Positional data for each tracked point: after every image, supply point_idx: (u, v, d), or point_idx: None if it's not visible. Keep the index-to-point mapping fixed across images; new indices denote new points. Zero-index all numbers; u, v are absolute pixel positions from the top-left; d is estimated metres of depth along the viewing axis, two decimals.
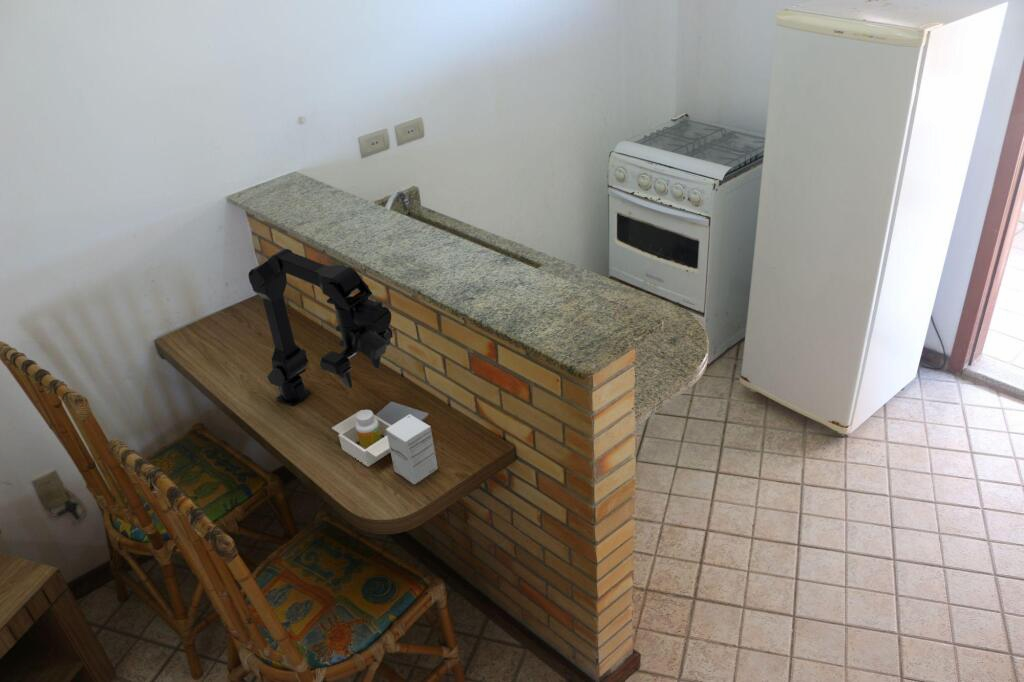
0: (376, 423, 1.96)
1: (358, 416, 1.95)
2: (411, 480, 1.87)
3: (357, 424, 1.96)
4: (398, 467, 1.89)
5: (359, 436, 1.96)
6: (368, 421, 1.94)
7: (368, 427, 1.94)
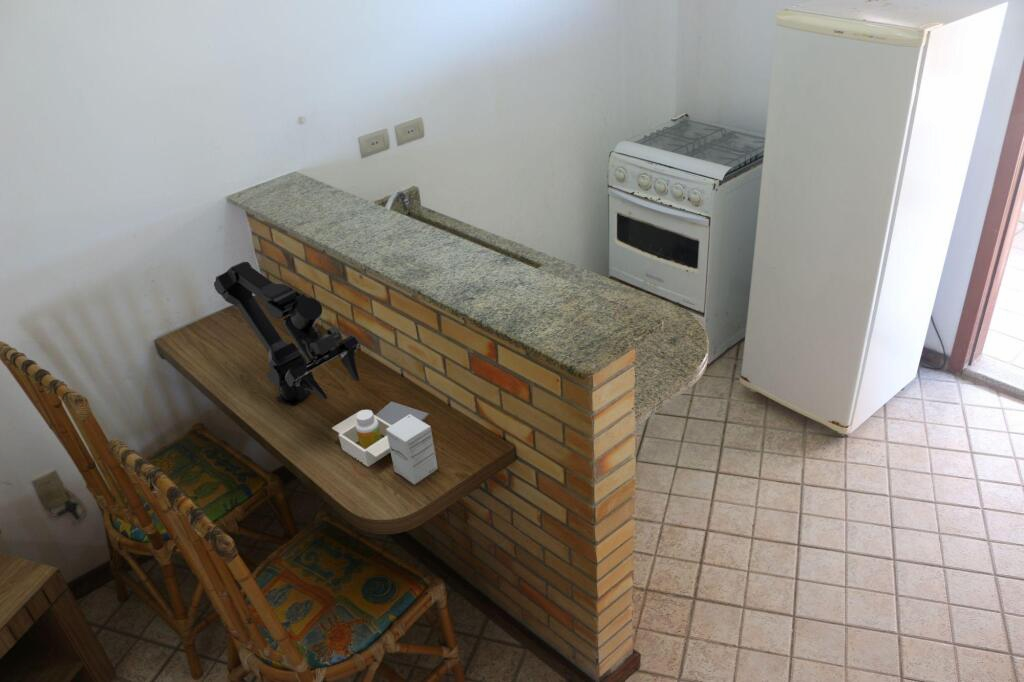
0: (376, 423, 1.96)
1: (358, 416, 1.95)
2: (411, 480, 1.87)
3: (357, 424, 1.96)
4: (398, 467, 1.89)
5: (359, 436, 1.96)
6: (368, 421, 1.94)
7: (368, 427, 1.94)
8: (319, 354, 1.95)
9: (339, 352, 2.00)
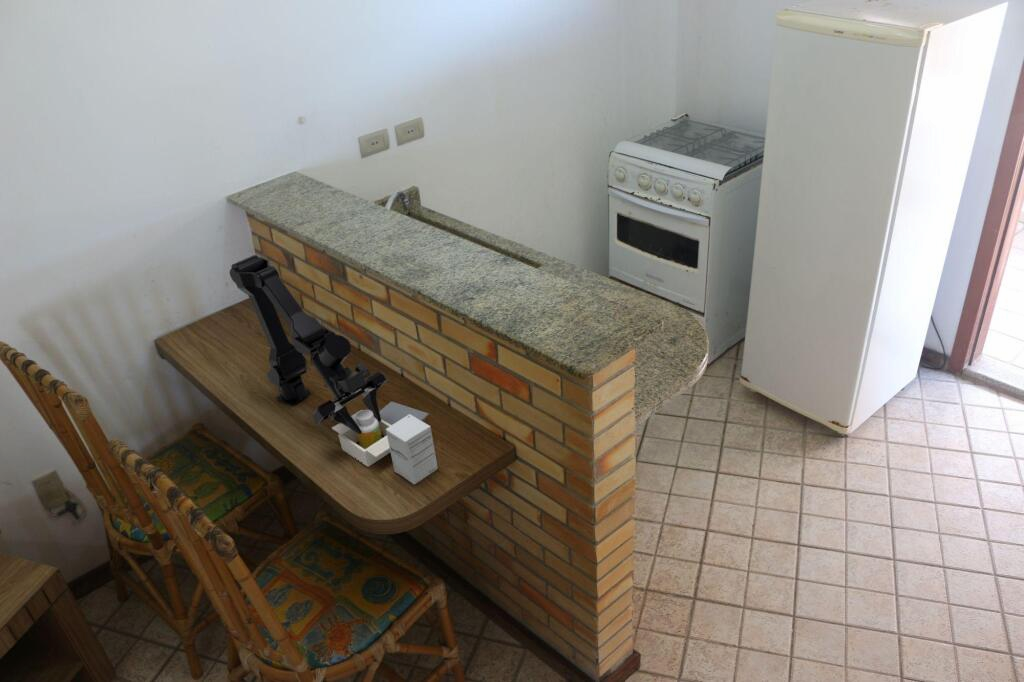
0: (376, 423, 1.96)
1: (358, 416, 1.95)
2: (411, 480, 1.87)
3: (357, 424, 1.96)
4: (398, 467, 1.89)
5: (359, 436, 1.96)
6: (368, 421, 1.94)
7: (368, 427, 1.94)
8: (347, 391, 1.93)
9: (361, 392, 1.98)
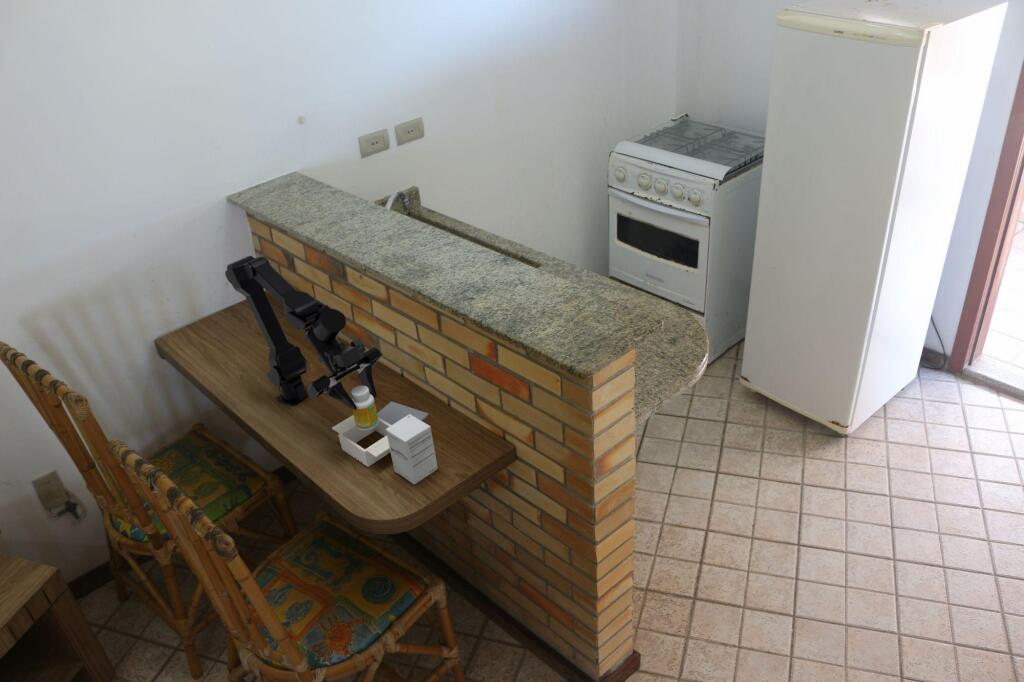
0: (372, 399, 1.93)
1: (353, 392, 1.91)
2: (411, 480, 1.87)
3: None
4: (398, 467, 1.89)
5: (354, 412, 1.93)
6: (364, 397, 1.91)
7: (363, 403, 1.91)
8: (342, 367, 1.90)
9: (356, 367, 1.94)
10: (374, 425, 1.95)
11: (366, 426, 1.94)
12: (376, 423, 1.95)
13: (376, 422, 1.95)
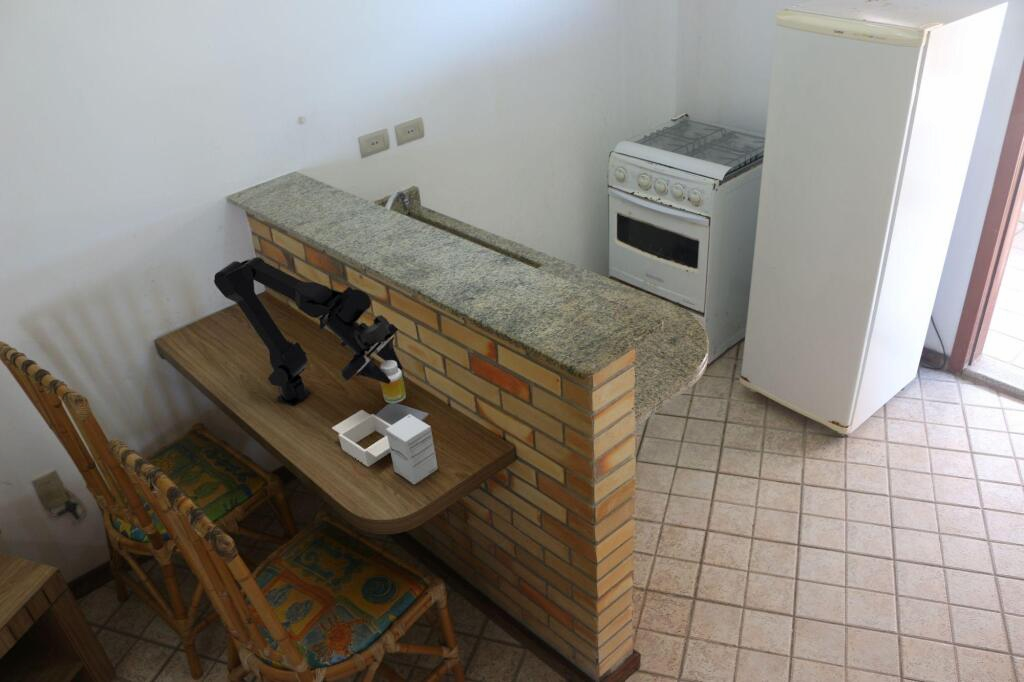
0: (400, 371, 2.02)
1: (383, 367, 2.00)
2: (411, 480, 1.87)
3: None
4: (398, 467, 1.89)
5: (386, 386, 2.01)
6: (395, 369, 2.00)
7: (395, 375, 2.00)
8: (370, 344, 1.98)
9: (378, 345, 2.02)
10: (404, 396, 2.04)
11: (398, 398, 2.03)
12: (405, 394, 2.05)
13: (405, 393, 2.05)
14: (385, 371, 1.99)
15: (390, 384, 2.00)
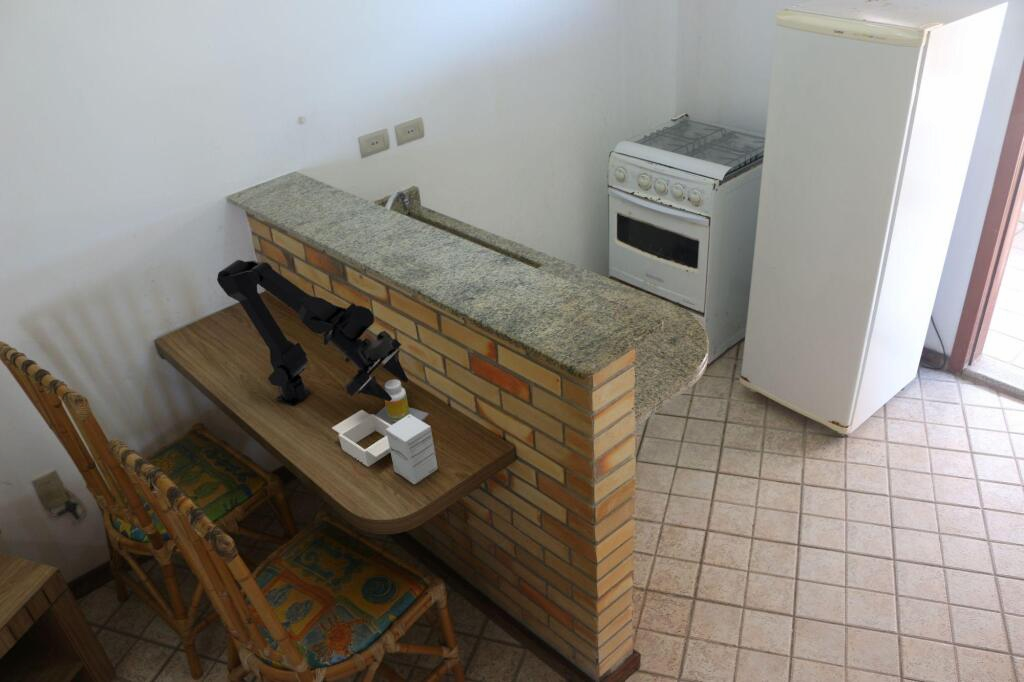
0: (404, 390, 2.05)
1: (387, 386, 2.03)
2: (411, 480, 1.87)
3: None
4: (398, 467, 1.89)
5: (390, 406, 2.04)
6: (399, 389, 2.03)
7: (399, 395, 2.03)
8: (373, 360, 2.00)
9: (383, 357, 2.06)
10: None
11: (402, 417, 2.06)
12: (409, 413, 2.08)
13: (409, 412, 2.08)
14: (389, 390, 2.02)
15: (394, 403, 2.03)
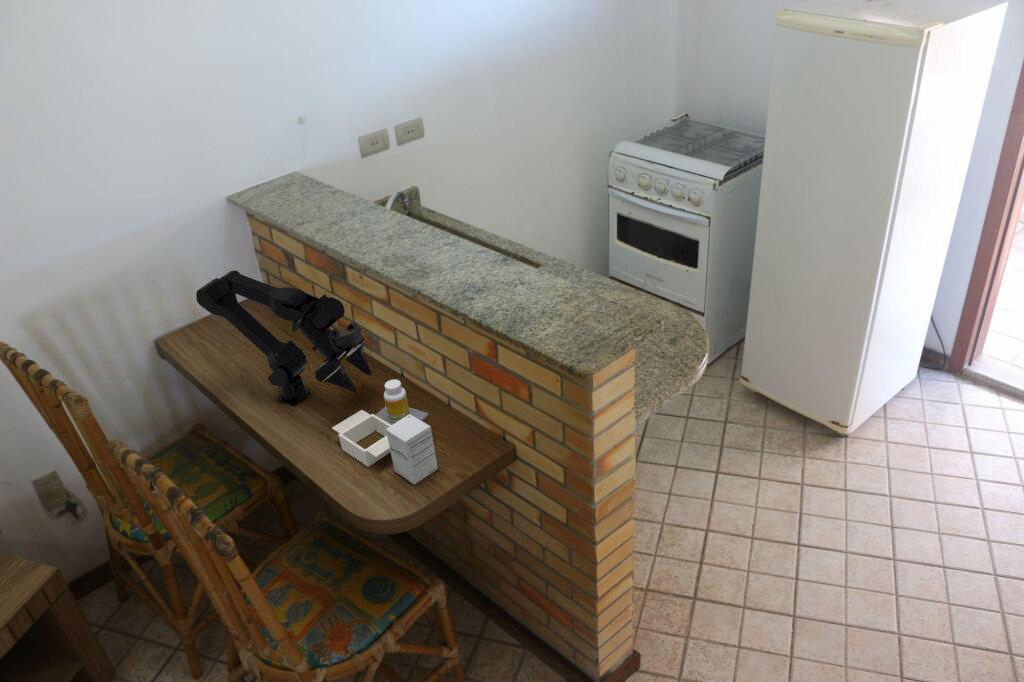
0: (404, 390, 2.05)
1: (387, 386, 2.03)
2: (411, 480, 1.87)
3: (387, 395, 2.04)
4: (398, 467, 1.89)
5: (390, 406, 2.04)
6: (399, 389, 2.03)
7: (399, 395, 2.03)
8: (343, 349, 2.03)
9: (349, 349, 2.10)
10: None
11: (402, 417, 2.06)
12: (409, 413, 2.08)
13: (409, 412, 2.08)
14: (389, 391, 2.02)
15: (394, 403, 2.03)
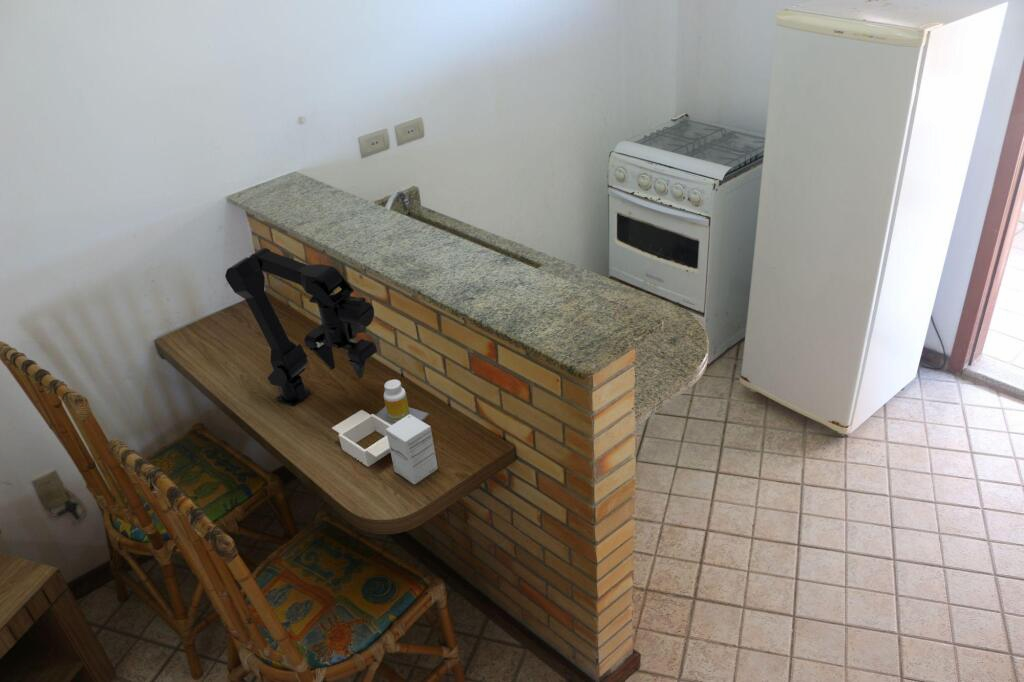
0: (404, 390, 2.05)
1: (387, 386, 2.03)
2: (411, 480, 1.87)
3: (386, 395, 2.04)
4: (398, 467, 1.89)
5: (390, 406, 2.04)
6: (399, 389, 2.03)
7: (399, 395, 2.03)
8: None
9: None
10: None
11: (402, 417, 2.06)
12: (409, 413, 2.08)
13: (409, 412, 2.08)
14: (389, 391, 2.02)
15: (394, 403, 2.03)
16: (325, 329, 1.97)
